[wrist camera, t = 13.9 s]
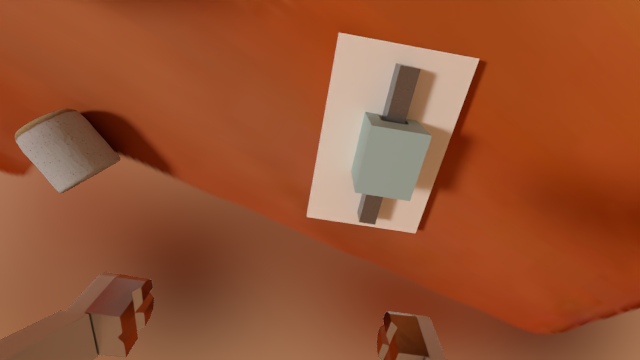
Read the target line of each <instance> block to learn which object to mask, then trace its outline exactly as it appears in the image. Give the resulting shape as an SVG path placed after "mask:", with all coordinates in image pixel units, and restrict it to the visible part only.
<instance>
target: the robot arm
mask: <svg viewBox="0 0 640 360" xmlns="http://www.w3.org/2000/svg"><path fill="white" fill-rule="evenodd" d="M152 288H153V284H152V280H150V279H146V278H139V277H133V276H127V275H121V274H120V275H119V274H113V273H107V272H104V273H102V274H100V275H99V276H98V277H97V278H96V279H95V280H94V281H93V282H92V283H91V284H90V286H89V287H88V288H87V289H86V290H85V291H84V292H83V293H82V294H81V295H80V296H79V297H78V298H77V299H76V300H75V302H74V303H73V304H72V305H71V306H70V307H69V308H68V309H67V310H66V311H61V310H60V311H58V312H57V313H54V314H53V315H50V316H48V317H46V318H44V319H42V320H40V321H38V322H36V323H34V324H32V325H30V326H27V327H26V328H23V329H21V330H19V331H17V332H15V333H13V334H11V335H9V336H7V337H5V338H3V339H1V340H0V360H94V359H95V358H96V357H97V356H98V355H106V356H117V357H127V355H128V354H129V352H130V350H131V349H132V347H133V345H134V344H135V342H136V341H137V339H138V335H137V331H138V330H140V329H142V328H143V327H145V326H146V324H147V322H148V321H149V319H150V317H151V314H152V311H153V307H154V297H153V296H152V295H151V294H150V291H151V290H152ZM383 322H384V325H383V326H381V327H380V328H379V331H378V335H377V353H378V357H379V358H380V359H381V360H446V358H445V356H444V353H443V350H442V348H441V345H440V342H439V340H438V337H437V334H436V332H435V329H434V326H433V324H432V321H431V319H430V318H429V317H428V316H420V315H413V314H405V313H397V312H389V311H387V312H386V313H385V314H384V317H383Z"/></svg>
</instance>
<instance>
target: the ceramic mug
mask: <svg viewBox="0 0 640 360" xmlns="http://www.w3.org/2000/svg"><path fill="white" fill-rule="evenodd" d="M15 140H16V142H17V144H18V145H19V147H20V148H21V150H22V151H23V152H24V154H25V155H26V156H27V157H28V158H29V159H30V160H31V161H32V162H33V163H34V164H35V166H36V167H37V168H38V169H39V170H40V171H41V172H42V174H43V175H44V176H45V177H46V178H47V180H48V181H49V182H50V183H51V184H52V185H53V187H54V188H55V189H56V190H57V191H58V192H59V193H63V192H65V191H68V190H69V189H71V188H73V187H75V186H76V185H78V184H80V183H81V182H83V181H85V180H87V179H89V178H90V177H92V176H94V175H96V174H97V173H99V172H101V171H103V170H104V169H106V168H108V167H110V166H111V165H113V164H115V163H116V162H118V161H120V157H119V156H118V155H117V154H116V153H115V152H114V150H113V149H112V148H111V147H110V146H109V144H108V143H107V142H106V141H105V140H104V139H103V138H102V137H101V136H100V134H99V133H98V132H97V131H96V130H95V129H94V128H93V126H92V125H91V124H90V123H89V122H88V121H87V119H86V118H85V117H83V116H82V115H81V114H80V113H79V112H77V111H76V110H72V109H62V110H58V111H55V112H52V113H49V114H46V115H44V116H42V117H40V118H37V119H35V120H33V121H31V122H30V123H28V124H26V125H25V126H23V127H22V128H20V129H19V130H18V131H17V132H16V134H15Z"/></svg>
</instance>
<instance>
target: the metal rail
mask: <svg viewBox="0 0 640 360" xmlns="http://www.w3.org/2000/svg"><path fill="white" fill-rule="evenodd" d="M420 70H421V69H419V68H417V67H414V66H409V65H403V64H398V63H396V64H395V68H394V72H393V76H392V80H391V84H390V88H389V92H388V95H387V99H386V103H385V107H384V111H383V115H382V119H381V120H383V121H388V122H394V123H400V124H405V121H406V118H407V114H408V111H409V108H410V104H411V101H412V97H413V94H414V91H415V87H416V84H417V80H418V77H419V74H420ZM382 199H383V197H380V196H373V195H367V194H362V196H361V200H360V204H359V207H358V211H357V214H358V219H359V222H361V223H368V224H374V225H375V223H376V220H377V216H378V213H379V210H380V206H381V203H382Z"/></svg>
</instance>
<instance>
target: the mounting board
mask: <svg viewBox="0 0 640 360" xmlns="http://www.w3.org/2000/svg"><path fill="white" fill-rule="evenodd" d="M478 62H479V59H477V58H472V57H467V56H461V55H456V54H451V53H445V52H440V51H435V50H429V49H424V48H419V47H413V46H408V45H403V44H397V43H392V42H387V41H381V40H376V39H371V38H366V37H360V36H355V35H350V34H344V33H339V34H338V40H337V45H336V51H335V57H334V62H333V68H332V74H331V79H330V85H329V91H328V96H327V102H326V108H325V113H324V119H323V125H322V130H321V136H320V142H319V147H318V153H317V159H316V164H315V170H314V176H313V181H312V187H311V193H310V198H309V204H308V210H307V217H311V218H317V219H324V220H331V221H337V222H344V223H350V224H357V225H364V226H370V227H377V228H384V229H390V230H397V231H403V232H410V233H416V231H417V228H418V225H419V223H420V220H421V217H422V214H423V212H424V209H425V206H426V204H427V201H428V198H429V195H430V193H431V190H432V187H433V184H434V182H435V179H436V176H437V174H438V171H439V168H440V165H441V163H442V160H443V157H444V154H445V152H446V149H447V146H448V144H449V141H450V138H451V135H452V133H453V130H454V127H455V125H456V122H457V119H458V116H459V114H460V111H461V108H462V105H463V103H464V100H465V97H466V95H467V92H468V89H469V86H470V84H471V81H472V78H473V76H474V73H475V70H476V67H477V65H478ZM396 63H398V64H403V65H409V66H414V67H417V68H419V69H421V70H420V74H419V77H418V80H417V84H416V87H415V91H414V94H413V97H412V101H411V104H410V108H409V111H408V114H407V118H406V119H410V120H416V121H418V122H419V123H420V124H421V125H422V126H423V127H424V128H425V129H426V130H427V131H428V132H429V133H430V134H431V135H432V138H431V141H430V144H429V146H428V149H427V152H426V155H425V158H424V161H423V164H422V167H421V170H420V173H419V176H418V179H417V182H416V185H415V188H414V191H413V194H412V197H411V200H410V201H405V200H399V199H393V198H386V197H383V199H382V203H381V206H380V210H379V213H378V216H377V220H376V223H375V225H374V224H368V223H361V222H359V219H358V214H357V211H358V207H359V204H360V200H361V196H362V194H361V193H355V190H354V185H353V179H352V174H351V169H352V165H353V160H354V156H355V152H356V148H357V143H358V139H359V135H360V130H361V126H362V122H363V117H364V113H365V112H369V113H375V114H378V116H379V117H380V119H382V115H383V111H384V107H385V103H386V99H387V95H388V92H389V88H390V84H391V80H392V76H393V72H394V68H395V64H396Z"/></svg>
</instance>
